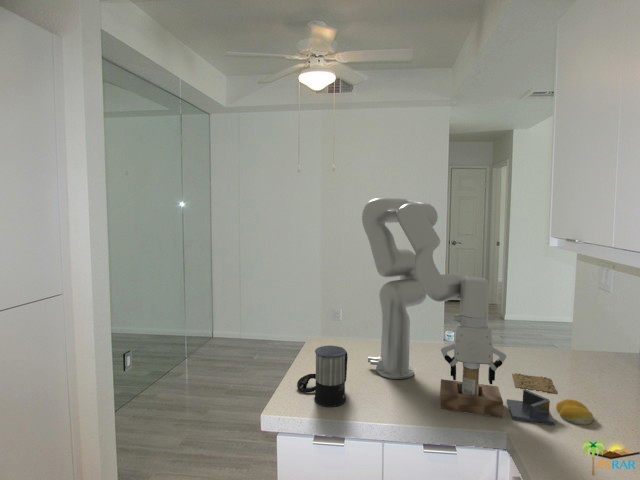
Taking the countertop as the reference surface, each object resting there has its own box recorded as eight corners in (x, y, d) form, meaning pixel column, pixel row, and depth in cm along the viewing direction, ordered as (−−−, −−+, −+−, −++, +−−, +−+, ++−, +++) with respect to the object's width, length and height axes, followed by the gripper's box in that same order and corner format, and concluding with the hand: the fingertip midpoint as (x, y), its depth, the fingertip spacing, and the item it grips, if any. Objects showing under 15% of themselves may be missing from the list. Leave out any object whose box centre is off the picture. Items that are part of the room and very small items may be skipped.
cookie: (511, 374, 140) (511, 371, 140) (551, 380, 135) (551, 377, 135) (514, 388, 128) (514, 385, 128) (558, 395, 124) (558, 392, 124)
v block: (512, 420, 109) (513, 403, 108) (506, 401, 119) (507, 387, 118) (554, 426, 106) (555, 409, 106) (544, 407, 116) (545, 391, 116)
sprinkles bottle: (481, 406, 116) (483, 360, 115) (471, 410, 113) (473, 363, 112) (467, 399, 120) (469, 355, 119) (457, 403, 117) (459, 358, 116)
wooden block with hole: (440, 409, 114) (441, 393, 114) (440, 393, 124) (440, 379, 123) (502, 418, 110) (503, 401, 109) (497, 401, 119) (497, 386, 119)
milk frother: (343, 409, 113) (344, 357, 112) (288, 403, 116) (288, 353, 115) (349, 387, 127) (350, 341, 126) (300, 382, 130) (300, 337, 129)
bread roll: (563, 423, 108) (564, 409, 107) (552, 407, 116) (553, 394, 116) (598, 428, 106) (599, 413, 105) (585, 411, 114) (586, 397, 114)
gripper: (441, 322, 113) (440, 382, 114) (509, 327, 108) (507, 389, 110) (441, 315, 121) (440, 372, 122) (504, 320, 116) (503, 378, 117)
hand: (472, 380), depth 116 cm, fingers open, 9 cm apart
